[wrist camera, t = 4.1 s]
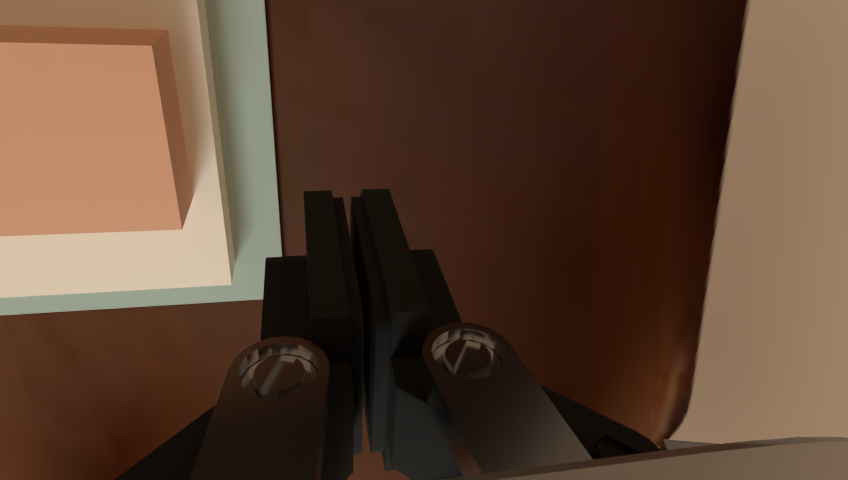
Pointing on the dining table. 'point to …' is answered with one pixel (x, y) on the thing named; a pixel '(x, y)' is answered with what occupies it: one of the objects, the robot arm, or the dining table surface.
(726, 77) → the dining table surface
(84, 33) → the terracotta tile
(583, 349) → the dining table surface
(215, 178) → the block
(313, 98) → the dining table surface
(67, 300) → the rubber mat
